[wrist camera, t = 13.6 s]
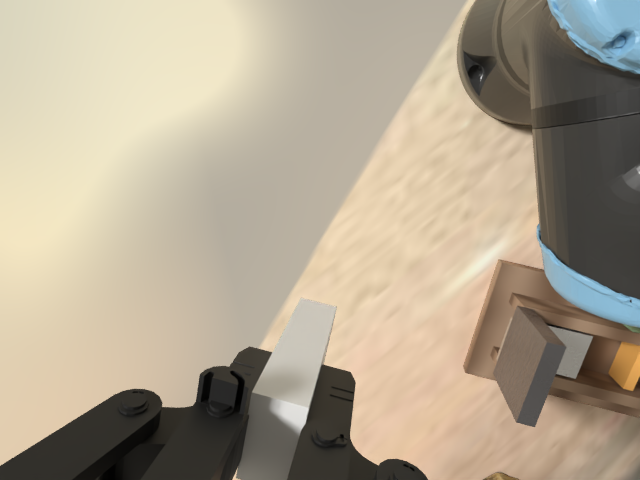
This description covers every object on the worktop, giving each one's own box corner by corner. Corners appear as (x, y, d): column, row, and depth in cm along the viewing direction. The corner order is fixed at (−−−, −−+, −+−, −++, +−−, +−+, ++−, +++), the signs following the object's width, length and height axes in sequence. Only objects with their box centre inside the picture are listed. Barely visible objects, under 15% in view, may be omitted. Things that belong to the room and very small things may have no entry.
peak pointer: (608, 373, 46) (631, 397, 42) (636, 308, 44) (664, 327, 40) (617, 375, 46) (642, 400, 42) (645, 311, 44) (675, 329, 40)
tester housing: (463, 366, 51) (478, 409, 42) (498, 259, 47) (523, 284, 39) (668, 418, 48) (726, 475, 40) (722, 310, 45) (797, 348, 37)
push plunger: (484, 354, 48) (516, 422, 37) (505, 291, 46) (547, 342, 34) (556, 372, 47) (613, 448, 36) (582, 309, 45) (650, 367, 34)
